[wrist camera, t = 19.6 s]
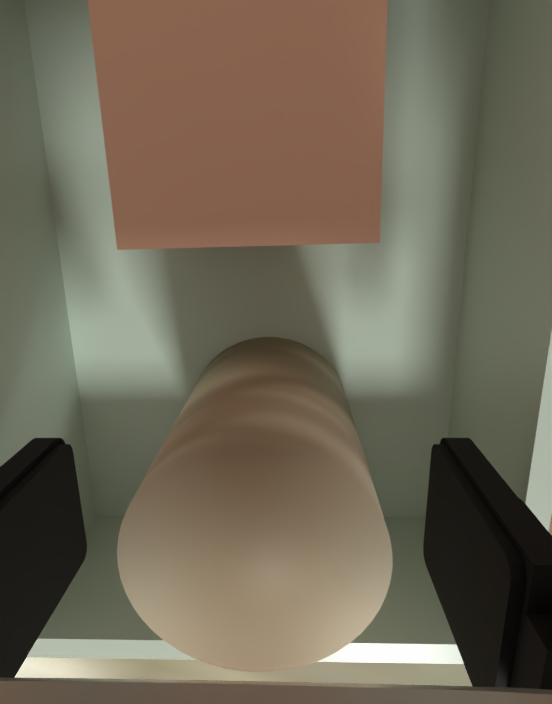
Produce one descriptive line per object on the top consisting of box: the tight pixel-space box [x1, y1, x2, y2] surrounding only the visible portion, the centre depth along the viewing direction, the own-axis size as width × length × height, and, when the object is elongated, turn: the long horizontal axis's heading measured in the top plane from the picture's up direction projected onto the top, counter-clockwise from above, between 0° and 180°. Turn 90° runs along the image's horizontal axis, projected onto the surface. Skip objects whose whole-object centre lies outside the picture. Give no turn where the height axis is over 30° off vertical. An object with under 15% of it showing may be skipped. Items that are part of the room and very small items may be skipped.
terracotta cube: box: [88, 0, 388, 250], centre depth 11 cm, size 5×5×5 cm
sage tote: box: [0, 0, 552, 664], centre depth 12 cm, size 13×17×6 cm
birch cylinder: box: [117, 337, 393, 672], centre depth 12 cm, size 5×5×7 cm
